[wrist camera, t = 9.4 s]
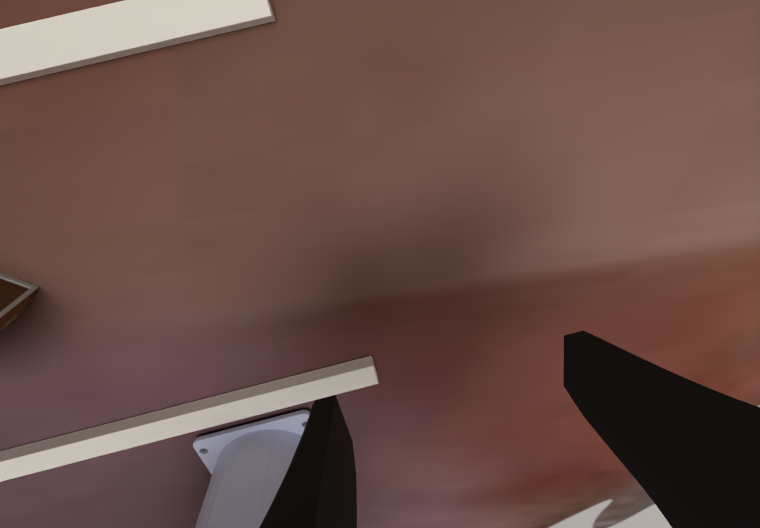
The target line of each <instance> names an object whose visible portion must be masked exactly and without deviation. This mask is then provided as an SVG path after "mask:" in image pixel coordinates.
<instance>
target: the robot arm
mask: <svg viewBox="0 0 760 528" xmlns="http://www.w3.org/2000/svg"><path fill="white" fill-rule="evenodd" d="M564 387H565V388H566V390H567V391H568V393H569V395H570V396H571V398H572V399H573V401H574V402H575V404H576V405H577V407H578V408H579V410H580V411H581V413H582V414H583V416H584V417H585V418H586V420H587V421H588V422H589V423H590V425H591V426H592V427H593V428H594V429H595V431H596V432H597V433H598V434H599V436H600V437H601V438H602V439H603V440H604V442H605V443H606V444H607V445H608V446H609V448H610V449H611V450H612V451H613V452H614V454H615V455H616V456H617V457H618V458H619V460H620V461H621V462H622V463H623V464H624V466H625V467H626V468H627V469H628V470H629V472H630V473H631V474H632V475H633V476H634V478H635V479H636V480H637V481H638V482H639V484H640V485H641V486H642V487H643V489H644V490H645V491H646V492H647V494H648V495H649V496H650V498H651V499H652V500H653V501H654V503H655V504H656V505H657V507H658V508H659V510H660V511H661V512H662V514H663V515H664V517H665V518H666V519H667V521H668V522H669V524H670V525H671V526H672V528H760V407H757V406H754V405H751V404H748V403H746V402H743V401H740V400H737V399H735V398H732V397H730V396H727V395H724V394H722V393H719V392H717V391H714V390H712V389H710V388H707V387H705V386H702V385H700V384H698V383H695V382H693V381H690V380H688V379H686V378H683V377H681V376H679V375H677V374H674V373H672V372H670V371H668V370H665V369H663V368H661V367H659V366H657V365H655V364H652V363H650V362H648V361H646V360H644V359H642V358H640V357H638V356H635V355H633V354H631V353H629V352H627V351H625V350H623V349H621V348H619V347H617V346H615V345H613V344H611V343H609V342H606V341H604V340H602V339H600V338H598V337H596V336H594V335H592V334H589V333H587V332H585V331H580V332H576V333H572V334H569V335H565V336H564ZM305 422H307V423H305ZM193 447H194V449H195V450H196V452H197V453H198V455H199V457H200V458H201V460H202V461H203V463H204V464H205V466H206V467H207V469H208V470H209V472H210V473H211V475H212V477H211V480H210V483H209V486H208V489H207V492H206V495H205V498H204V501H203V504H202V507H201V510H200V513H199V516H198V519H197V522H196V525H195V528H357V503H356V470H355V461H354V452H353V444H352V439H351V436H350V434H349V431H348V428H347V425H346V423H345V420H344V417H343V414H342V412H341V409H340V406H339V403H338V401H337V398H336V395H333V396H330V397H326V398H322V399H318V400H316V401H315V402H314V403H313V406H312V409H311V412H310V411H308V410H300V411H296V412H292V413H288V414H285V415H281V416H277V417H273V418H269V419H265V420H261V421H258V422H254V423H250V424H246V425H242V426H238V427H234V428H231V429H227V430H223V431H219V432H215V433H211V434H208V435H204V436H200V437H197V438H196V439H195V441H194V443H193ZM204 448H205V449H204Z"/></svg>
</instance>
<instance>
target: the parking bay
mask: <svg viewBox="0 0 760 528" xmlns="http://www.w3.org/2000/svg"><path fill="white" fill-rule="evenodd" d="M274 21H275V18H274V15H273V11H272V8H271V4H270V1H269V0H125V1H120V2H116V3H112V4H107V5H103V6H99V7H94V8H90V9H86V10H81V11H77V12H73V13H68V14H64V15H60V16H55V17H51V18H47V19H42V20H38V21H34V22H29V23H25V24H21V25H16V26H12V27H8V28H3V29H0V86H1V85H5V84H9V83H14V82H18V81H22V80H26V79H31V78H35V77H39V76H43V75H48V74H52V73H56V72H61V71H65V70H69V69H73V68H78V67H82V66H86V65H90V64H95V63H99V62H103V61H107V60H112V59H116V58H120V57H124V56H129V55H133V54H137V53H142V52H146V51H150V50H154V49H159V48H163V47H167V46H171V45H176V44H180V43H184V42H188V41H193V40H197V39H201V38H205V37H210V36H214V35H218V34H222V33H227V32H231V31H235V30H240V29H244V28H248V27H252V26H257V25H261V24H265V23H269V22H274ZM375 384H378V378H377V372H376V369H375V366H374V362H373V359H372V356H368V357H364V358H360V359H356V360H352V361H348V362H344V363H341V364H337V365H333V366H329V367H325V368H321V369H317V370H313V371H310V372H306V373H302V374H298V375H294V376H290V377H286V378H282V379H278V380H275V381H271V382H267V383H263V384H259V385H255V386H251V387H247V388H243V389H240V390H236V391H232V392H228V393H224V394H220V395H216V396H212V397H209V398H205V399H201V400H197V401H193V402H189V403H185V404H181V405H177V406H174V407H170V408H166V409H162V410H158V411H154V412H150V413H146V414H143V415H139V416H135V417H131V418H127V419H123V420H119V421H115V422H111V423H108V424H104V425H100V426H96V427H92V428H88V429H84V430H80V431H76V432H73V433H69V434H65V435H61V436H57V437H53V438H49V439H45V440H42V441H38V442H34V443H30V444H26V445H22V446H18V447H14V448H10V449H7V450H3V451H0V482H1V481H5V480H9V479H13V478H16V477H20V476H24V475H28V474H32V473H36V472H40V471H43V470H47V469H51V468H55V467H59V466H63V465H66V464H70V463H74V462H78V461H82V460H86V459H90V458H93V457H97V456H101V455H105V454H109V453H113V452H117V451H120V450H124V449H128V448H132V447H136V446H140V445H144V444H147V443H151V442H155V441H159V440H163V439H167V438H171V437H174V436H178V435H182V434H186V433H190V432H194V431H198V430H201V429H205V428H209V427H213V426H217V425H221V424H225V423H228V422H232V421H236V420H240V419H244V418H248V417H252V416H255V415H259V414H263V413H267V412H271V411H275V410H279V409H282V408H286V407H290V406H294V405H298V404H302V403H306V402H309V401H313V400H317V399H321V398H325V397H329V396H332V395H336V394H340V393H344V392H348V391H352V390H356V389H359V388H363V387H367V386H371V385H375Z"/></svg>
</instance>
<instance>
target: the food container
mask: <svg viewBox="0 0 760 528" xmlns="http://www.w3.org/2000/svg"><path fill="white" fill-rule="evenodd" d="M38 289H39V286H36V285H33V284H30V283H28V282H25V281H22V280H19V279H16V278H14V277H11V276H8V275H5V274H3V273H0V332H1V331H2V330H3V329H4V328H5V327H7V326H8V325H9V324H10V323H11V322H13V321H14V320H15V319H16V318H17V317H19V316H20V315H21V314H22V313H23V312H24V311H25V310H26V309H28V307H29V306H30V304H31V303H32V302H33V300H34V299H35V297H36V294H37V292H38Z"/></svg>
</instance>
